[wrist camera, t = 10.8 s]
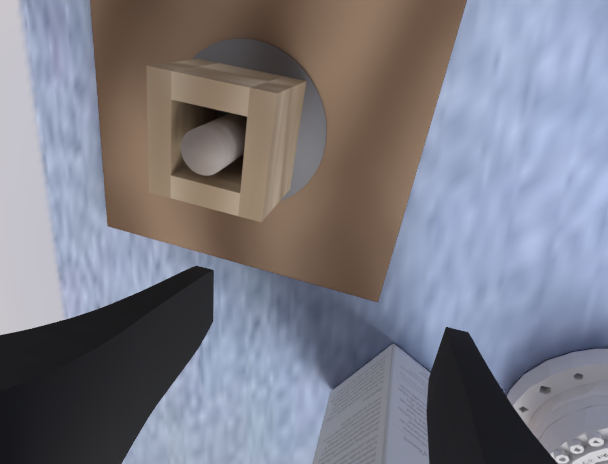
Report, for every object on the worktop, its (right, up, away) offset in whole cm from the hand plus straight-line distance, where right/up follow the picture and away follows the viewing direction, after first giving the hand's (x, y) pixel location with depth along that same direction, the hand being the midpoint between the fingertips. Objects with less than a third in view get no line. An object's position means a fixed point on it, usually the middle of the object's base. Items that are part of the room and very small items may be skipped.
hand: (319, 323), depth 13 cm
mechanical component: (+16, -7, +10) cm, 20 cm away
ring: (-3, +8, +7) cm, 11 cm away
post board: (-3, +8, +8) cm, 12 cm away
